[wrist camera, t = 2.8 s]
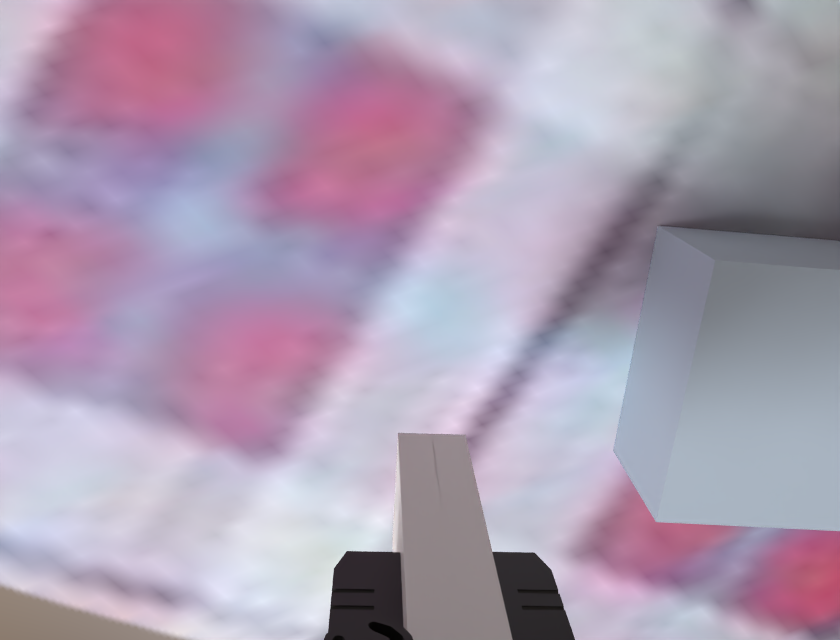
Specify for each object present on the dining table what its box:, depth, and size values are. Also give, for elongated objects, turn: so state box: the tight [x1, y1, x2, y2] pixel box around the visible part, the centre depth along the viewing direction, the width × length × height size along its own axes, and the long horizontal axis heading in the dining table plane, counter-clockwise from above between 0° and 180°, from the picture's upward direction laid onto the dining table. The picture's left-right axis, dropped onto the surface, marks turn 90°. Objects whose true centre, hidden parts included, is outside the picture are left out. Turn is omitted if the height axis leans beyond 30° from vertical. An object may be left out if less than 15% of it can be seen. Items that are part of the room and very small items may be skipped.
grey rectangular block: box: [613, 226, 840, 531], centre depth 24 cm, size 8×7×4 cm
